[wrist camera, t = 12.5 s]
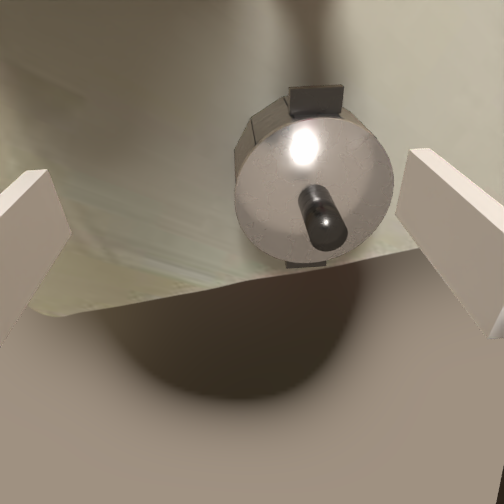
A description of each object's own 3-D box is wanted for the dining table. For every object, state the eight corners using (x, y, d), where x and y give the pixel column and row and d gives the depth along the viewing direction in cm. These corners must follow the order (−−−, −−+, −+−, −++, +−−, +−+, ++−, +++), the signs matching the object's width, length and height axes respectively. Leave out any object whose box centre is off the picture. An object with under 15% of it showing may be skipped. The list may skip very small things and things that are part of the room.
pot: (229, 75, 41) (229, 95, 33) (375, 68, 41) (407, 85, 34) (239, 236, 53) (241, 276, 46) (352, 229, 53) (372, 268, 46)
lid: (228, 115, 36) (229, 150, 28) (398, 106, 36) (445, 138, 29) (238, 254, 46) (241, 309, 38) (372, 246, 46) (402, 298, 38)
